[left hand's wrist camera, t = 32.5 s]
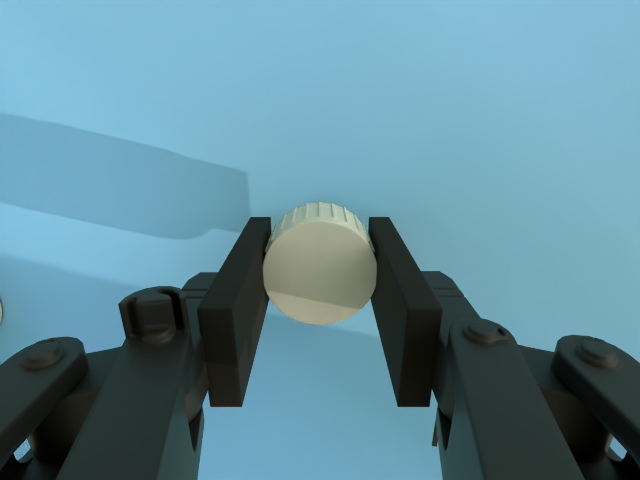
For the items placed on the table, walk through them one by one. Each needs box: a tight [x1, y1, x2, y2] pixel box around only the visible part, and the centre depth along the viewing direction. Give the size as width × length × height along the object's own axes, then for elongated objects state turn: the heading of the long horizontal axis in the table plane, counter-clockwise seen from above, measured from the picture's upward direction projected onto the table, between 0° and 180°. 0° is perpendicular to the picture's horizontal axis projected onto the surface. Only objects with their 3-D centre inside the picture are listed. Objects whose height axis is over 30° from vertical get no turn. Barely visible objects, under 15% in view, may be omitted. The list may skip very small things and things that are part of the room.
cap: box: [263, 201, 377, 325], centre depth 13 cm, size 4×4×2 cm
